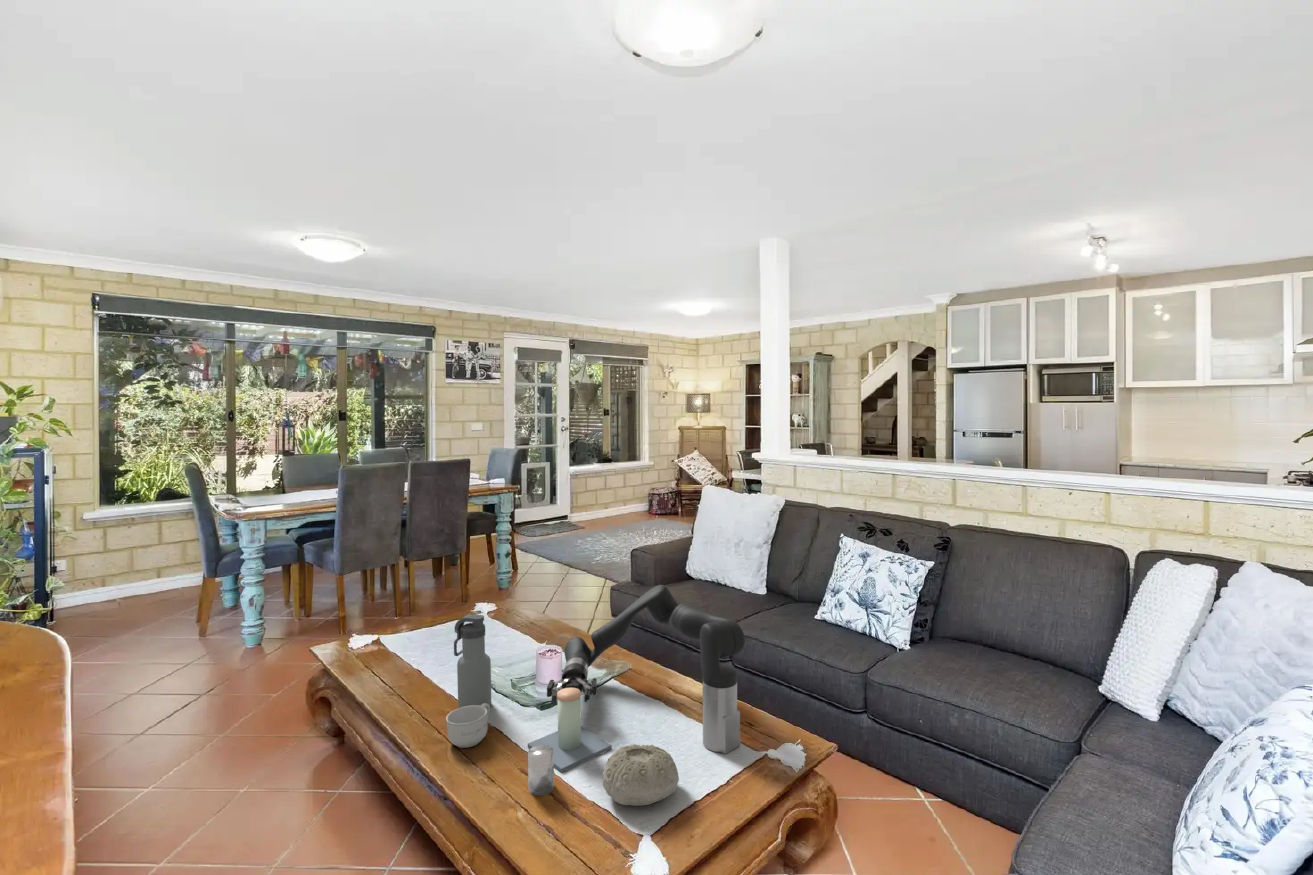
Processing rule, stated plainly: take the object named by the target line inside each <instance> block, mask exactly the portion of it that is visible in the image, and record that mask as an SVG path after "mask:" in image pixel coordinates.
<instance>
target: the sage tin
mask: <svg viewBox="0 0 1313 875" xmlns="http://www.w3.org/2000/svg"><path fill="white" fill-rule="evenodd" d="M581 697H582V695H581V691H580V690H579V689H577V688H564V689H561V690H559V691H558V692H557V731H558V746H559V748H560V749H563V750H573V749H576V748H578V747H579V746H580V745H581V726H582V724H581V723H582V722H581V720H582V719H581V716H582V715H581V712H582V711H581Z"/></svg>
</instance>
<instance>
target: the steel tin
mask: <svg viewBox="0 0 1313 875" xmlns="http://www.w3.org/2000/svg"><path fill="white" fill-rule="evenodd" d="M527 764H528V765H527V767H528V768H527V769H528V770H527V773H528V774H527V775H528V777H527V778H528V793H529V794H531V795H533V796H535V797H537V796H539V797H541V796H545V795H546V796H547V795H548V794H550V793H552V792H553V790H554V789H555V768H554V752H553V748H552V747H551V746H549V745H537V746H534V747H532V748H531V749H529V750H528V752H527Z"/></svg>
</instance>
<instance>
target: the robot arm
mask: <svg viewBox="0 0 1313 875" xmlns="http://www.w3.org/2000/svg"><path fill="white" fill-rule="evenodd" d="M645 609H647V610H648V612H649V613H650V615H651V616H652V618H653V619H654V620H655V621H656V622H657V623H659V624H660V625H663V626H667V627H670V628H672V629H673V630H674V631H676V632H678V633H679V634H681V635H683V636H684V637H686V638H688V639H692V640H697V641H698V640H699V645H700V646H699V648H700V666H701V667H700V669H701V674H702V744H703V746H704V748H706V749H707V750H709V751H712V752H715V753H723V754H725V755H726V754H728V753H730V752H732V751H733V750H735V749H737V748H739V747H740V746H741V711H740V710H738V673H737V671H736V669H735V668H734V667H732V666H731V665H728V664H724V663H720V658H726V657H732V656H735V655H737V654H739V653H741V652H742V650H744V647H745V644H746V637H745V634H744V630H743V629H742V628H741V626H740V625H739V624H738V622H736V621H734V620H733V619H730V618H725V617H721V616H719V615H718V616H717V615H715V614H713V613H711V612H708V611H707V610H704V609H703V608H701V607H699V606H697V605H695V604H693V603H688V602H683V603H681V604H679V603H678V602H677V601H676V599H675V597H674V596H673V594H672V593H671V592H670V590H669V588H668V587H667V586H666V585H665V584H658V585H655V586H653V587H652V588H650V589H648V591H646V592H644V594H642V595H641V596H640V597H638V598H637V599H636V600H635V601H633V602H632V603H631V604H630V605H629V606H628V607H626V609H624V610H623V611H622V612H621V613H619V615H617V616H616V617H615V618H613V619H612V620H610V621H608V622H607V623H605V624H603V625H602V626H600V627H599V628H598V629H597V628H596V630H594V631H593V632H592V633H591V635H590V638H591V641H592V644H593V646H594V647H593V648H592V650H591V649H590V647H589V645H588V643H587V642H586V641H585V639H583V638H582V637H580V636H574V637H572V638H570V639H569V640H568V641H567V642H566V644H565V647H564V658H565V665H564V668H563V670H562V675H561V679H560V680H559V681H555V680H554V679H550V680H549V681H548V684H547V686H546V697H547V698H550V697H551V702H553V704H557V703H558V698H557V692H558V691H559V690H561V689H564V688H577V689H579V690H580V691H581V696H584V697H583V699H584V703H587V702H588V701H589V700H590V699H591V695H592V696H597V695H598V689H597V686H598V685H597V684H598V683H597V678H596V677H593V678H592V680H589V681H588V675H589V667H591V666H592V664H593V663H594V662H595V661H596V660H597V658H599V656H601V655H602V654H603V653H604V652H605V651H607V650H608V649H609V648H611V647H613V646H614V645H616V644H618V643H619V642H620V641H621V640H623V639H624V638H625V636H626V635H627V633H628V631H629V629H630V628H631V625H632V624H633V622H634V620H635V619H636V617H637V616H638V615H639V613H641V612H642V611H643V610H645Z"/></svg>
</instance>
